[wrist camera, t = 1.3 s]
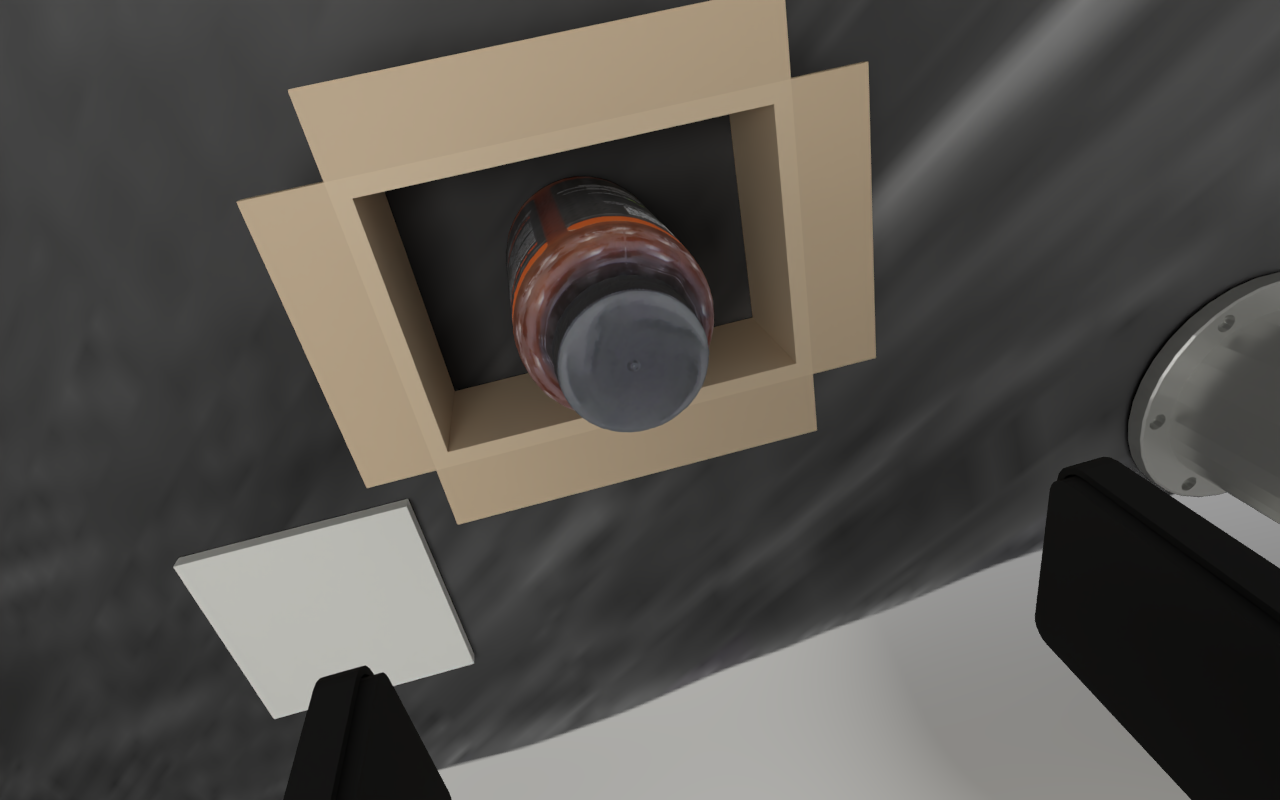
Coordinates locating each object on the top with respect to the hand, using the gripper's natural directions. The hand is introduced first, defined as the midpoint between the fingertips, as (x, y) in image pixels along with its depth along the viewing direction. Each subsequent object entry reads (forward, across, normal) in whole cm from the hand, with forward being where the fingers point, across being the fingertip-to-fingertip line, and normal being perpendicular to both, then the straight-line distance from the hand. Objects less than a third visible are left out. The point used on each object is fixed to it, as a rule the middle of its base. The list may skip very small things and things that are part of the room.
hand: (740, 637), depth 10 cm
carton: (+20, 0, 0) cm, 20 cm away
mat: (+20, +15, +14) cm, 29 cm away
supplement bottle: (+21, 0, 0) cm, 21 cm away
